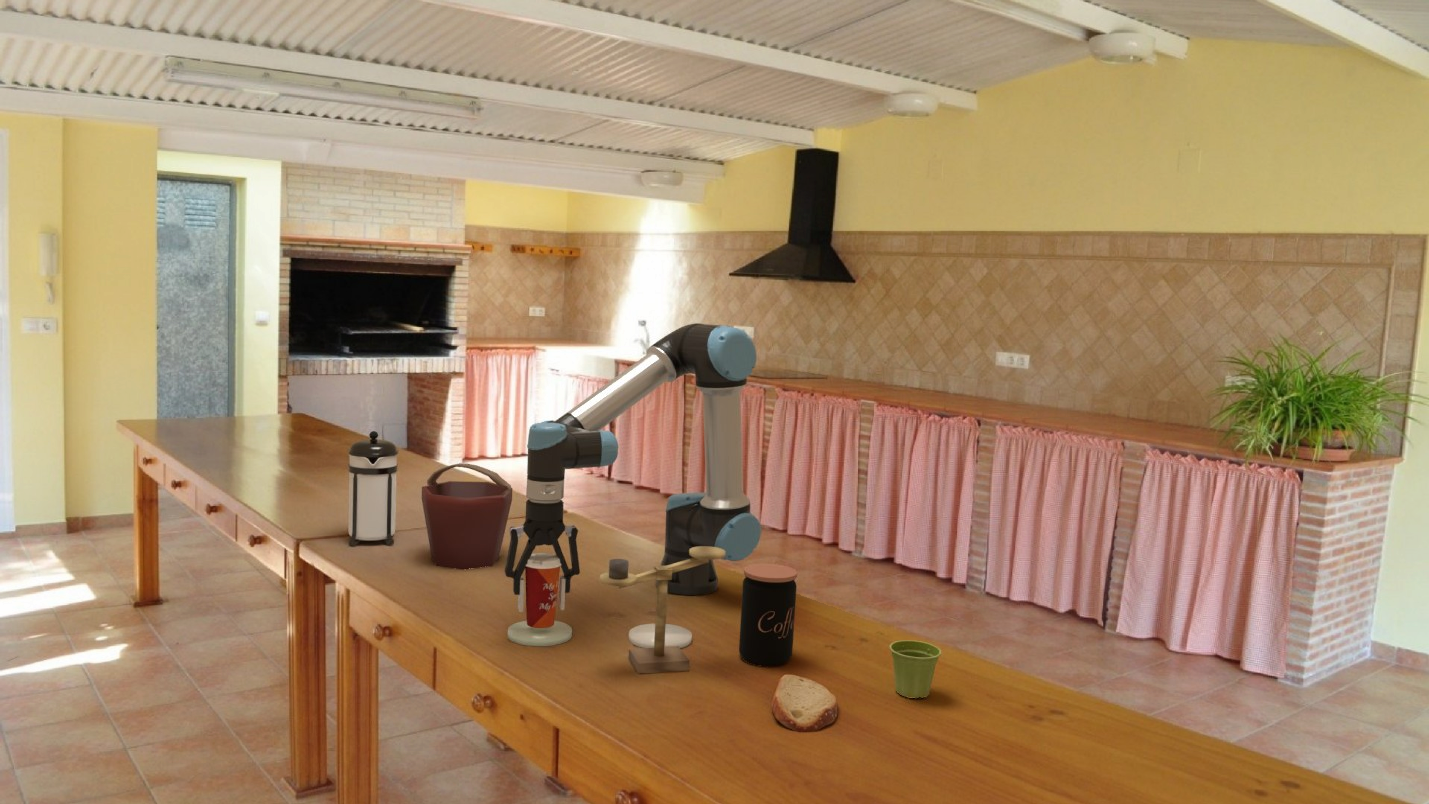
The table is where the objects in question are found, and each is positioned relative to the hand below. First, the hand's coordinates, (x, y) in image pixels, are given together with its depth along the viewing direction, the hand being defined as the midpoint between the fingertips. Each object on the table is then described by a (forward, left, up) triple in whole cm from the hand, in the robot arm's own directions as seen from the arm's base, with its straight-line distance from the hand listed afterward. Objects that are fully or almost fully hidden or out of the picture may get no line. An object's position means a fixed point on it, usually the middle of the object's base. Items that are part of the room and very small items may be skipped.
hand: (541, 608), depth 214 cm
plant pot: (-63, +42, -6) cm, 76 cm away
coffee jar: (-42, +20, -6) cm, 47 cm away
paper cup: (0, 0, -3) cm, 3 cm away
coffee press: (+34, -83, -6) cm, 90 cm away
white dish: (-24, +6, -6) cm, 25 cm away
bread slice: (-39, +44, -6) cm, 59 cm away
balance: (-20, +20, -6) cm, 29 cm away
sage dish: (0, 0, -6) cm, 6 cm away
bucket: (+11, -59, -6) cm, 60 cm away
